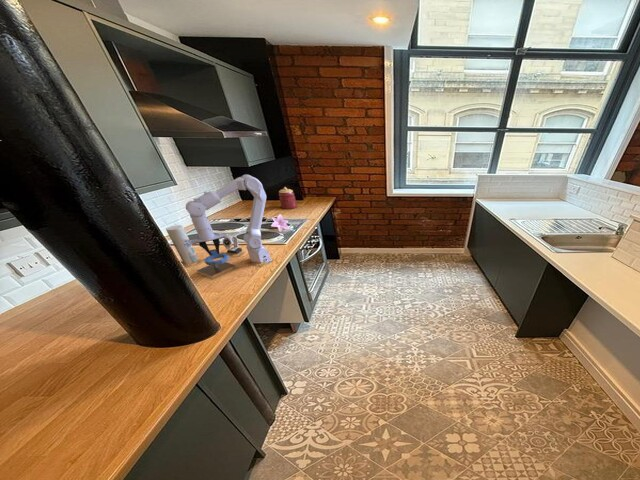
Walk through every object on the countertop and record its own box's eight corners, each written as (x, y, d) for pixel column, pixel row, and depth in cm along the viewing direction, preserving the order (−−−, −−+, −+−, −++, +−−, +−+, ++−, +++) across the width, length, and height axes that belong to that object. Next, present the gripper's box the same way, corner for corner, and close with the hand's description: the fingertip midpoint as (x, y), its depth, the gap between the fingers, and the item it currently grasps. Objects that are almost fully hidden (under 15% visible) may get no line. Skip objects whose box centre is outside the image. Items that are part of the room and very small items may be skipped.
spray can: (186, 261, 131) (168, 226, 121) (201, 259, 133) (185, 224, 123) (182, 267, 126) (163, 230, 116) (197, 265, 128) (180, 229, 118)
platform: (236, 267, 127) (233, 259, 124) (212, 278, 117) (208, 269, 115) (221, 262, 131) (218, 254, 128) (197, 273, 121) (192, 264, 119)
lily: (270, 234, 169) (272, 223, 164) (268, 223, 175) (270, 212, 170) (289, 236, 177) (291, 226, 171) (287, 225, 183) (289, 215, 177)
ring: (230, 261, 115) (228, 255, 113) (207, 267, 110) (204, 261, 108) (225, 252, 122) (223, 247, 121) (203, 257, 117) (201, 252, 116)
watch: (226, 257, 137) (218, 239, 131) (236, 251, 143) (229, 233, 138) (235, 257, 136) (228, 239, 131) (245, 251, 143) (238, 233, 138)
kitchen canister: (283, 205, 227) (278, 185, 218) (298, 205, 229) (294, 185, 220) (279, 209, 216) (274, 188, 207) (295, 209, 218) (291, 188, 209)
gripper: (221, 222, 118) (230, 248, 125) (182, 229, 110) (195, 256, 117) (223, 226, 114) (233, 252, 121) (183, 233, 105) (197, 261, 112)
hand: (215, 255), depth 119 cm, fingers closed on ring, 2 cm apart
